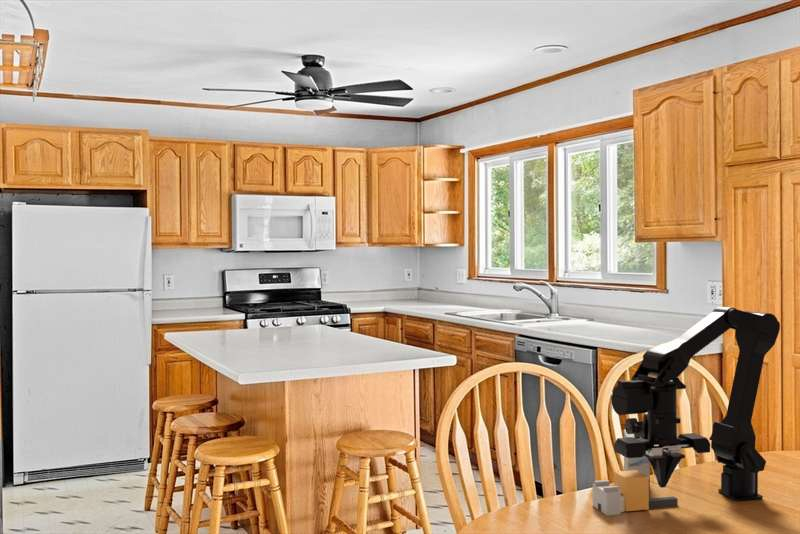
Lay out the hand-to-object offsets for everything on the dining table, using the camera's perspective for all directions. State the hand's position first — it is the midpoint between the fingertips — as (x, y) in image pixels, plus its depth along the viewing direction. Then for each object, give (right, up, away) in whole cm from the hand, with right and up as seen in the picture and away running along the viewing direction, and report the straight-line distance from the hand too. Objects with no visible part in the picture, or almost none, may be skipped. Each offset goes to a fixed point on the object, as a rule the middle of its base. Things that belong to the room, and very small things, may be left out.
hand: (662, 486), depth 157 cm
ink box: (-1, -4, +13) cm, 14 cm away
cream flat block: (-10, -4, -2) cm, 11 cm away
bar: (-5, -4, -1) cm, 7 cm away
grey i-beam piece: (-12, -4, -3) cm, 13 cm away
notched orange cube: (-7, -4, -1) cm, 8 cm away
